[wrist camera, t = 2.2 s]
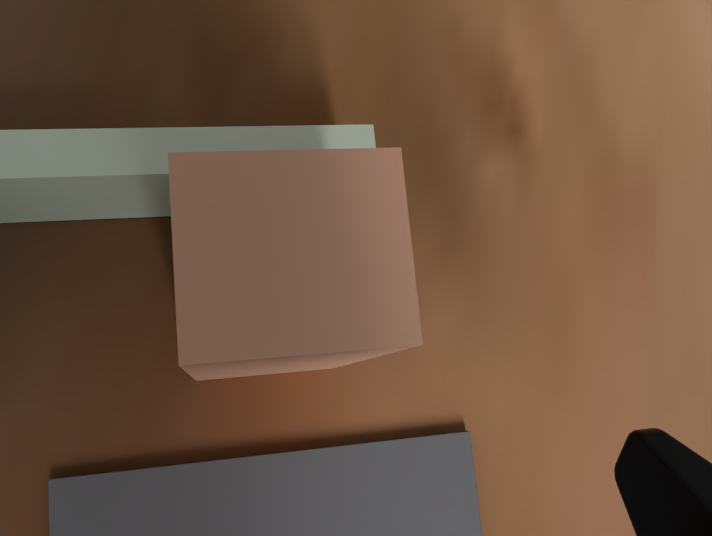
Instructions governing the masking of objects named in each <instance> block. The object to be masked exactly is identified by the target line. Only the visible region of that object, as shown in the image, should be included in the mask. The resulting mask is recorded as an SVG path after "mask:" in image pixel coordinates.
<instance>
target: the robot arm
mask: <svg viewBox="0 0 712 536" xmlns="http://www.w3.org/2000/svg"><path fill="white" fill-rule="evenodd" d="M614 472H615V480H616V483H617V486H618V489H619V491H620V494H621V496H622V499H623V502H624V504H625V507H626V509H627V512H628V515H629V517H630V520H631V522H632V525H633V528H634V530H635V533H636V535H637V536H712V463H710V462H709V461H707V460H706V459H704V458H703V457H701V456H700V455H698V454H697V453H695V452H694V451H692V450H691V449H690V448H688V447H687V446H685V445H684V444H682V443H681V442H679V441H678V440H676V439H675V438H673V437H672V436H670V435H669V434H667V433H666V432H664V431H662V430H660V429H657V428H649V429H641V430H634V431H632V432H631V433H630V434H629V435H628V437H627V439H626V441H625V444H624V446H623V448H622V450H621V453H620V455H619V457H618V459H617V462H616V464H615V470H614Z"/></svg>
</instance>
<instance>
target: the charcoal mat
mask: <svg viewBox="0 0 712 536" xmlns="http://www.w3.org/2000/svg"><path fill="white" fill-rule="evenodd" d="M48 496H49V536H482V528H481V520H480V512H479V503H478V495H477V487H476V478H475V470H474V462H473V453H472V445H471V437H470V431H462V432H453V433H444V434H436V435H427V436H418V437H409V438H401V439H392V440H383V441H375V442H366V443H357V444H349V445H340V446H331V447H322V448H314V449H305V450H296V451H288V452H279V453H270V454H262V455H253V456H244V457H235V458H227V459H218V460H209V461H201V462H192V463H183V464H175V465H166V466H157V467H148V468H140V469H131V470H122V471H114V472H105V473H96V474H88V475H79V476H70V477H61V478H53V479H49V480H48Z"/></svg>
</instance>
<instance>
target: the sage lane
mask: <svg viewBox="0 0 712 536" xmlns="http://www.w3.org/2000/svg"><path fill="white" fill-rule="evenodd" d="M349 148H376V145H375V135H374V126H373V124H369V125H300V126H232V127H163V128H95V129H26V130H0V223H17V222H41V221H66V220H90V219H114V218H139V217H163V216H171V207H170V187H169V167H168V152H214V151H259V150H304V149H349Z"/></svg>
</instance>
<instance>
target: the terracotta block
mask: <svg viewBox="0 0 712 536" xmlns="http://www.w3.org/2000/svg"><path fill="white" fill-rule="evenodd" d="M168 167H169V187H170V207H171V226H172V246H173V266H174V286H175V305H176V325H177V345H178V365H179V367H181V368H182V369H183V370H184V371H185V372H187V373H188V374H189V375H190V376H191V377H192V378H194V379H195V380H196V381H201V380H212V379H223V378H234V377H245V376H256V375H267V374H278V373H289V372H300V371H311V370H322V369H332V368H336V367H340V366H344V365H348V364H352V363H355V362H359V361H363V360H367V359H371V358H375V357H378V356H382V355H386V354H390V353H394V352H398V351H401V350H405V349H409V348H413V347H417V346H421V345H423V340H422V331H421V322H420V313H419V304H418V295H417V286H416V277H415V268H414V259H413V250H412V241H411V232H410V223H409V214H408V205H407V196H406V187H405V178H404V169H403V160H402V151H401V147H394V148H349V149H304V150H259V151H214V152H168Z"/></svg>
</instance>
